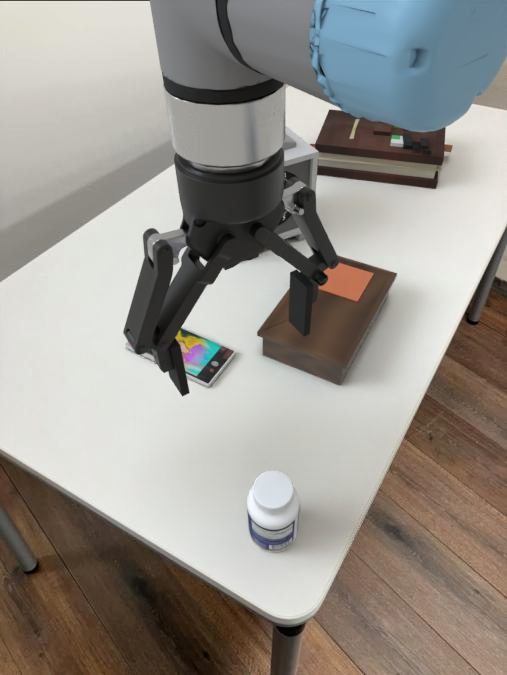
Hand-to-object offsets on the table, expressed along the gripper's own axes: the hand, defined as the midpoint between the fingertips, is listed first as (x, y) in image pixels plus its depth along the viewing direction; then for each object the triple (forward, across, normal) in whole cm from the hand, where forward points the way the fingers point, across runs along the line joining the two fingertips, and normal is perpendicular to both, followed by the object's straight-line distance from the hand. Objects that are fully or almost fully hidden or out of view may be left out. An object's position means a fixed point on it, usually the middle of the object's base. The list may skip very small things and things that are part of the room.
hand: (242, 355), depth 50 cm
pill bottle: (+18, +3, +10) cm, 21 cm away
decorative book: (+18, -61, -46) cm, 79 cm away
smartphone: (+18, 0, -20) cm, 27 cm away
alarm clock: (+18, -26, -39) cm, 50 cm away
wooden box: (+18, -22, -12) cm, 31 cm away
